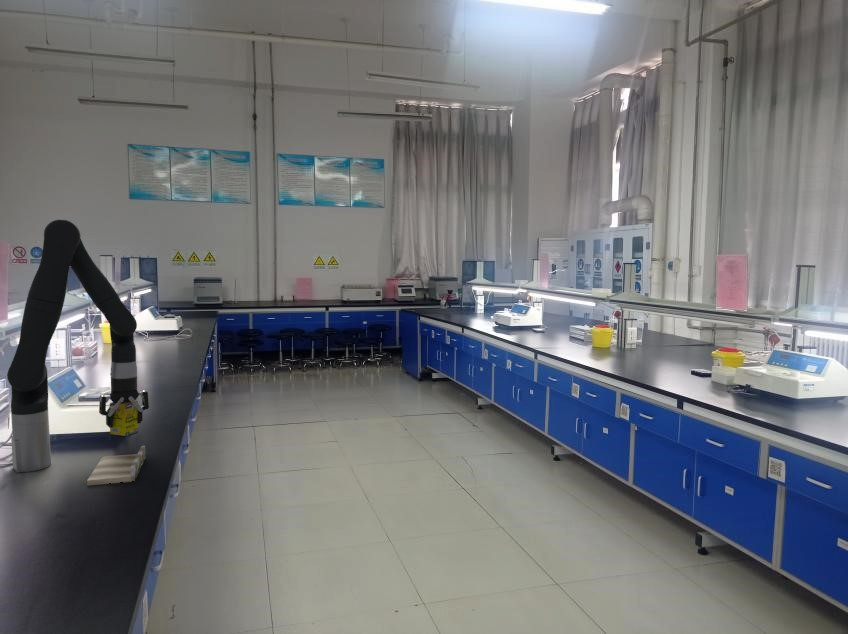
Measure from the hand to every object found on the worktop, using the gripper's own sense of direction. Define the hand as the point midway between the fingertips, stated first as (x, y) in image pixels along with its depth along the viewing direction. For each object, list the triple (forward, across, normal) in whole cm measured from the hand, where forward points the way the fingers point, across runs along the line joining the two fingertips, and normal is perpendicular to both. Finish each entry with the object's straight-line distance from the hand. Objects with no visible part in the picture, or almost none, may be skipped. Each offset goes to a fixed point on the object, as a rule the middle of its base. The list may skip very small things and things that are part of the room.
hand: (124, 425), depth 192 cm
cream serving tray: (+9, -6, -15) cm, 19 cm away
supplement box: (+4, 0, 0) cm, 4 cm away
